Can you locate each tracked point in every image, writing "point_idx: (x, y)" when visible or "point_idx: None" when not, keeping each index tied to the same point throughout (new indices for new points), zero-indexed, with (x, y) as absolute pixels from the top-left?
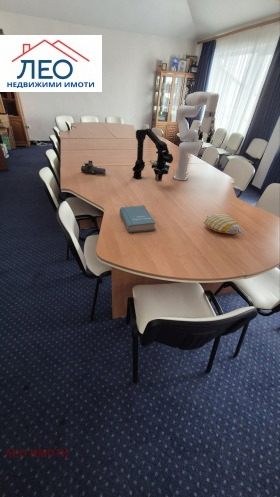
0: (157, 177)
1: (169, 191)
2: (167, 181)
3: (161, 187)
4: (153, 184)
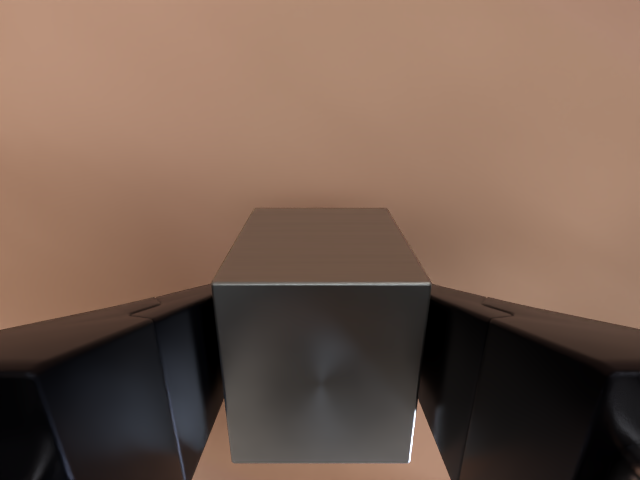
0: (228, 256)
1: (40, 305)
2: None
3: None
4: (422, 187)
